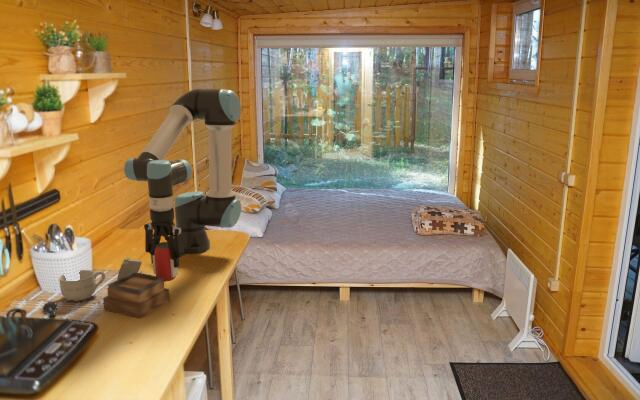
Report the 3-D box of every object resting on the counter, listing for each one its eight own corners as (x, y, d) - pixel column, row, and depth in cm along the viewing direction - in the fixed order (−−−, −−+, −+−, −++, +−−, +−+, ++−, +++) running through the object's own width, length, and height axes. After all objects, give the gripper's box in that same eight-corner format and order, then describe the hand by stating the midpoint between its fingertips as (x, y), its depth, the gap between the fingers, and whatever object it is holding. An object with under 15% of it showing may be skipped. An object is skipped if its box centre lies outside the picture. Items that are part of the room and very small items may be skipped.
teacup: (62, 307, 173) (59, 283, 171) (60, 294, 182) (57, 271, 180) (109, 299, 179) (107, 276, 177) (104, 287, 189) (103, 265, 187)
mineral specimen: (143, 282, 193) (142, 260, 191) (117, 286, 190) (116, 264, 188) (141, 275, 200) (140, 254, 198) (116, 278, 196) (114, 257, 194)
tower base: (135, 293, 184) (133, 270, 182) (169, 300, 179) (168, 276, 177) (104, 309, 172) (102, 285, 170) (140, 318, 166) (138, 293, 164)
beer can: (165, 283, 182) (163, 249, 179) (151, 279, 185) (149, 245, 182) (180, 277, 187) (178, 243, 184) (166, 273, 190) (164, 240, 187)
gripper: (129, 207, 180) (135, 273, 186) (179, 214, 173) (183, 283, 179) (145, 202, 187) (149, 265, 193) (193, 208, 179) (197, 274, 185)
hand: (166, 274), depth 186 cm, fingers closed on beer can, 6 cm apart
